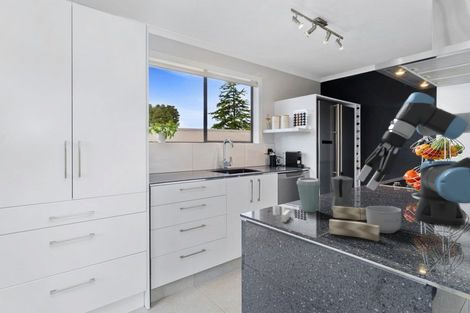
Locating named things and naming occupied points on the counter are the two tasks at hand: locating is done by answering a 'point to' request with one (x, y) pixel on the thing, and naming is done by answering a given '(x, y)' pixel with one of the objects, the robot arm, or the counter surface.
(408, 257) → the counter surface
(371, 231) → the channel
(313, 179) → the disposable coffee cup
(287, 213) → the bumper
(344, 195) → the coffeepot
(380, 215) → the teacup
